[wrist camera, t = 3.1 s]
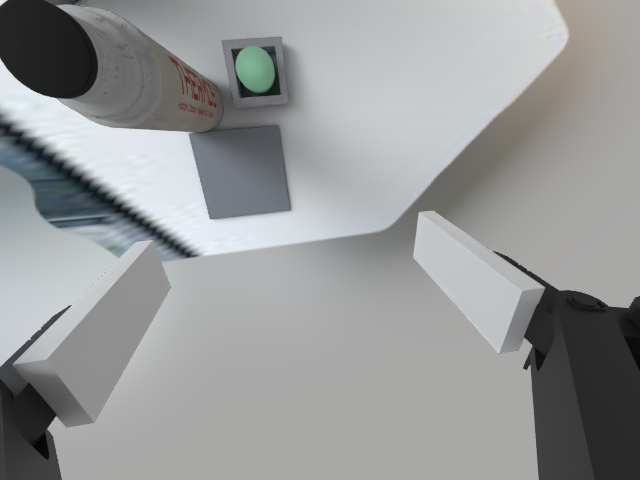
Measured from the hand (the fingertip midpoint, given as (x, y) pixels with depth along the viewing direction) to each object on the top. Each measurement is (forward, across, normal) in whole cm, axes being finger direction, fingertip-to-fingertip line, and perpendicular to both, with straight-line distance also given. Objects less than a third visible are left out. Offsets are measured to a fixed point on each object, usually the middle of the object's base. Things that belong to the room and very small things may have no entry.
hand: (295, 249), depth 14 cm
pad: (+35, -7, -4) cm, 36 cm away
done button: (+35, -2, +10) cm, 37 cm away
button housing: (+36, -2, +10) cm, 38 cm away
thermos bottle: (+36, -12, +7) cm, 39 cm away
